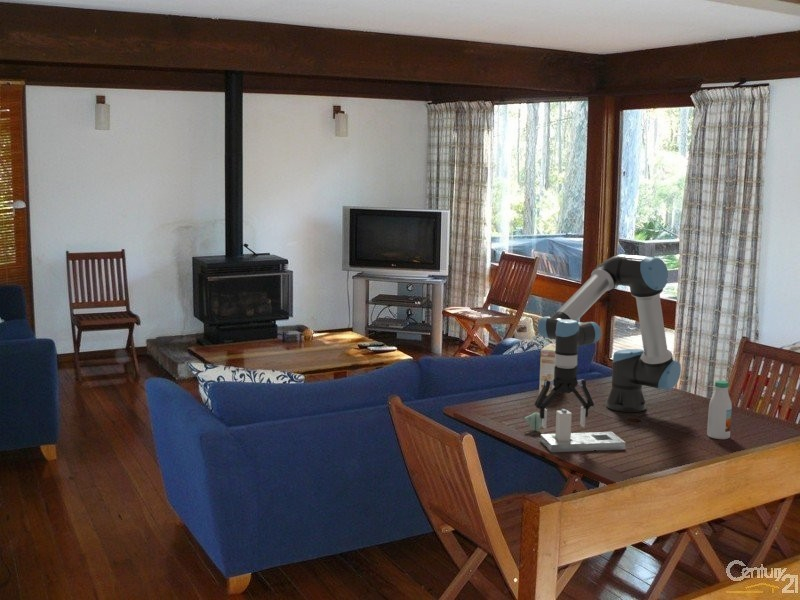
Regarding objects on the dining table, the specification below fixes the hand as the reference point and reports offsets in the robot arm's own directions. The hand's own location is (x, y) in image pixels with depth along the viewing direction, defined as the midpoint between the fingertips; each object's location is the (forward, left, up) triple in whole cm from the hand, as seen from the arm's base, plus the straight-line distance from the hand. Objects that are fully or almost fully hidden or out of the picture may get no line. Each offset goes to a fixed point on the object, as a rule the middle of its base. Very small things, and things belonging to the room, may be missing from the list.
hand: (563, 427), depth 303 cm
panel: (-7, 0, -7) cm, 10 cm away
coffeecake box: (-19, -70, -7) cm, 73 cm away
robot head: (+4, -18, -7) cm, 20 cm away
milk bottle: (-59, -4, -7) cm, 60 cm away
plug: (0, 0, -7) cm, 7 cm away
